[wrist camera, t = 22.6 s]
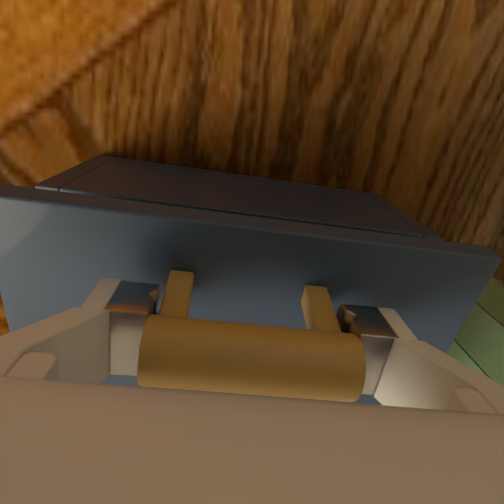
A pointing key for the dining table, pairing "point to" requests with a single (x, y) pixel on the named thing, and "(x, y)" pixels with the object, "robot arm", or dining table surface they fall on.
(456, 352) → the pot
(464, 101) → the dining table surface
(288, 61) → the dining table surface
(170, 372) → the lid
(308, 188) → the box
